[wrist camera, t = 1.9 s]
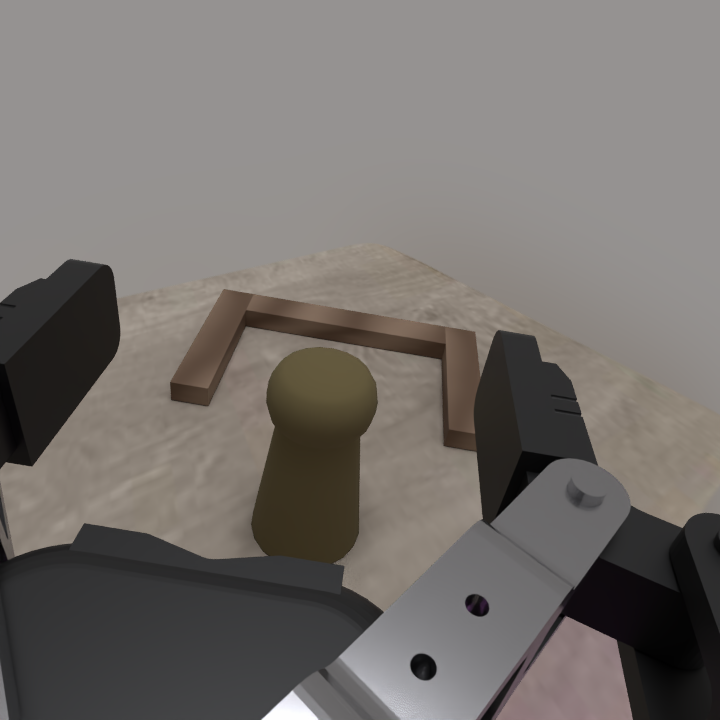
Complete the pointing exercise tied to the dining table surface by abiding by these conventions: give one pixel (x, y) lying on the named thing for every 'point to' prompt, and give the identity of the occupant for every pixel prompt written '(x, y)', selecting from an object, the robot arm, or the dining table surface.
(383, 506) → the dining table surface
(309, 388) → the cork
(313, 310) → the walnut cradle
